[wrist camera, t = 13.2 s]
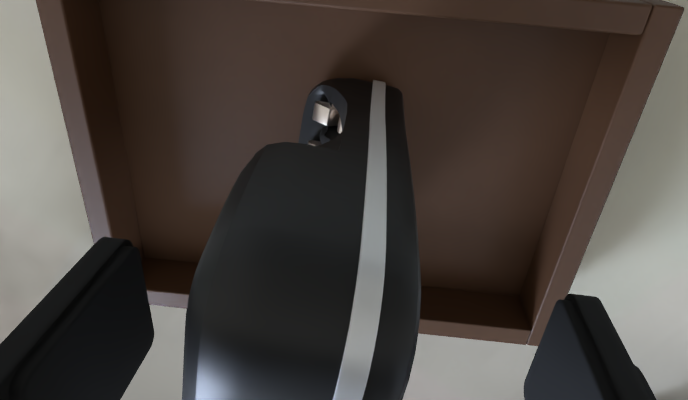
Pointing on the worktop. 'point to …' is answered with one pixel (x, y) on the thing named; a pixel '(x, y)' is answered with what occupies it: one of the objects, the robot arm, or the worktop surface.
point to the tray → (420, 123)
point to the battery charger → (313, 262)
